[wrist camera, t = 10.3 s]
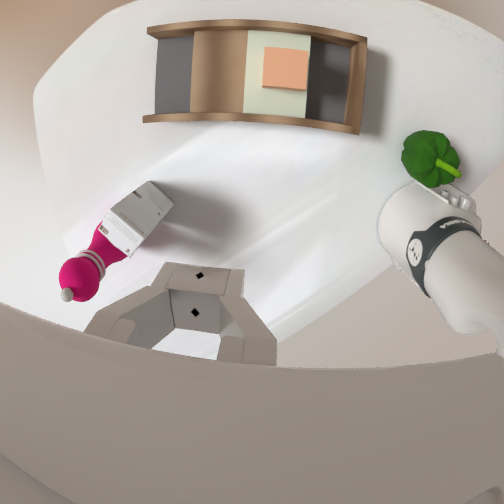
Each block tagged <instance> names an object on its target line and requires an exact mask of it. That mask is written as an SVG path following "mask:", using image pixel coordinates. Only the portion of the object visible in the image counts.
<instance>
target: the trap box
mask: <svg viewBox="0 0 504 504" xmlns="http://www.w3.org/2000/svg"><path fill="white" fill-rule="evenodd" d="M147 34H149V35H150V36H152V37H154V38H156V39H158V50H157V64H156V84H155V114H152V115H145V116H143V123H150V122H166V121H198V120H215V121H247V122H264V123H276V124H287V125H296V126H305V127H313V128H320V129H327V130H333V131H339V132H345V133H350V134H356V135H359V133H360V125H361V117H362V108H363V98H364V87H365V74H366V57H367V37H364V36H360V35H356V34H352V33H348V32H343V31H339V30H334V29H329V28H324V27H318V26H312V25H306V24H298V23H290V22H280V21H268V20H244V19H226V20H202V21H190V22H180V23H172V24H165V25H158V26H152V27H147ZM264 47H277V48H288V49H297V50H305V51H309V52H308V68H307V83H306V90H304V91H293V90H283V89H271V88H262V79H263V63H264Z"/></svg>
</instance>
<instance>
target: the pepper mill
mask: <svg viewBox="0 0 504 504" xmlns="http://www.w3.org/2000/svg"><path fill="white" fill-rule="evenodd" d="M102 222H103V221H102ZM102 222H101V223H102ZM101 223H100V224H99V225H98V226H97V228H96V230H95V232H94V235H93V239H92V242H91V244H90V246H89V248H88V249H87V250H82V251H81V252H79V254H78V255H77V256H76V257H75V258H71V259H69V260H67V261H66V262H65V263H64V264H63V266H62V267H61V270H60V273H59V282H60V286H61V288H62V291H61V298H62V299H63V300H64V301H66V302H69V301H71V300H74V301H79V302H85V301H88V300H90V299H91V298H92V297H93V296H94V295H95V294H96V293H97V291H98V289H99V282H100V281H101V280H102V278H103V277H104V276H105V272H106V268H107V267H108V266H109V265H111V264H112V263H115V262H118V261H121V260H123V259H124V258H126V257H127V255H126V254H125V253H123V252H122V251H121V250H120V249H119V248H117V247H115V246H114V245H113V244H112V243H111V242H110V241H109V240H108V238H107V237H105V236H104V235H103V234H102V233H101V232H100V231H99V230H98V228H99V226H100V225H101Z"/></svg>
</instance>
